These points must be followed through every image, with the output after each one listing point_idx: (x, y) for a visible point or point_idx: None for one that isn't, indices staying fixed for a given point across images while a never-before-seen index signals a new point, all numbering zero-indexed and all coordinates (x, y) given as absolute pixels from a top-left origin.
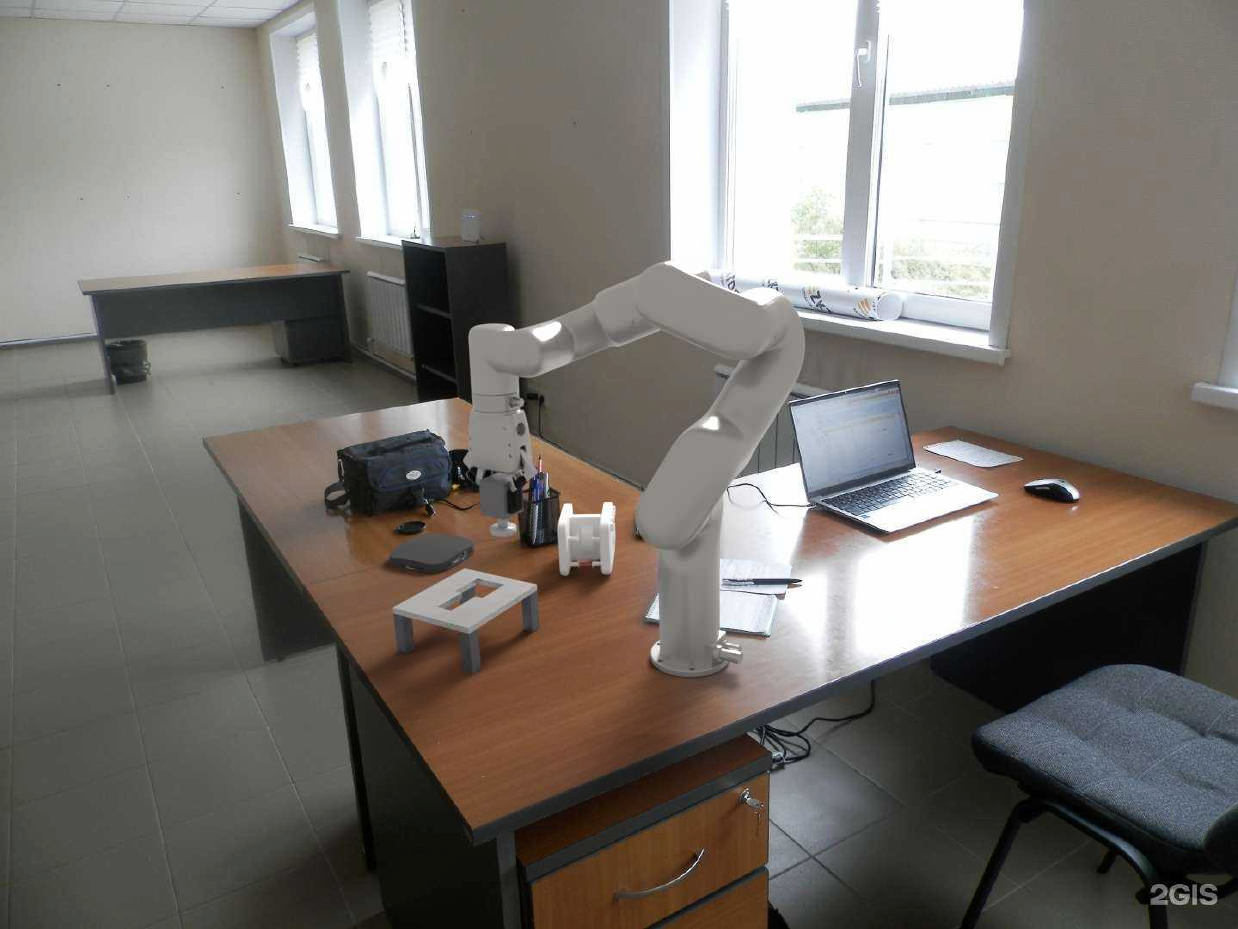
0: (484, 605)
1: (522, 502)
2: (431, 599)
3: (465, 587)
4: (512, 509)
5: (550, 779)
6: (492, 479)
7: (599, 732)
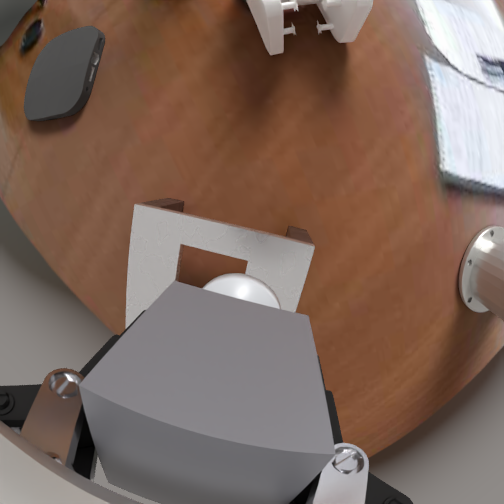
0: None
1: (333, 398)
2: None
3: (177, 276)
4: None
5: (379, 444)
6: (157, 488)
7: (412, 402)
